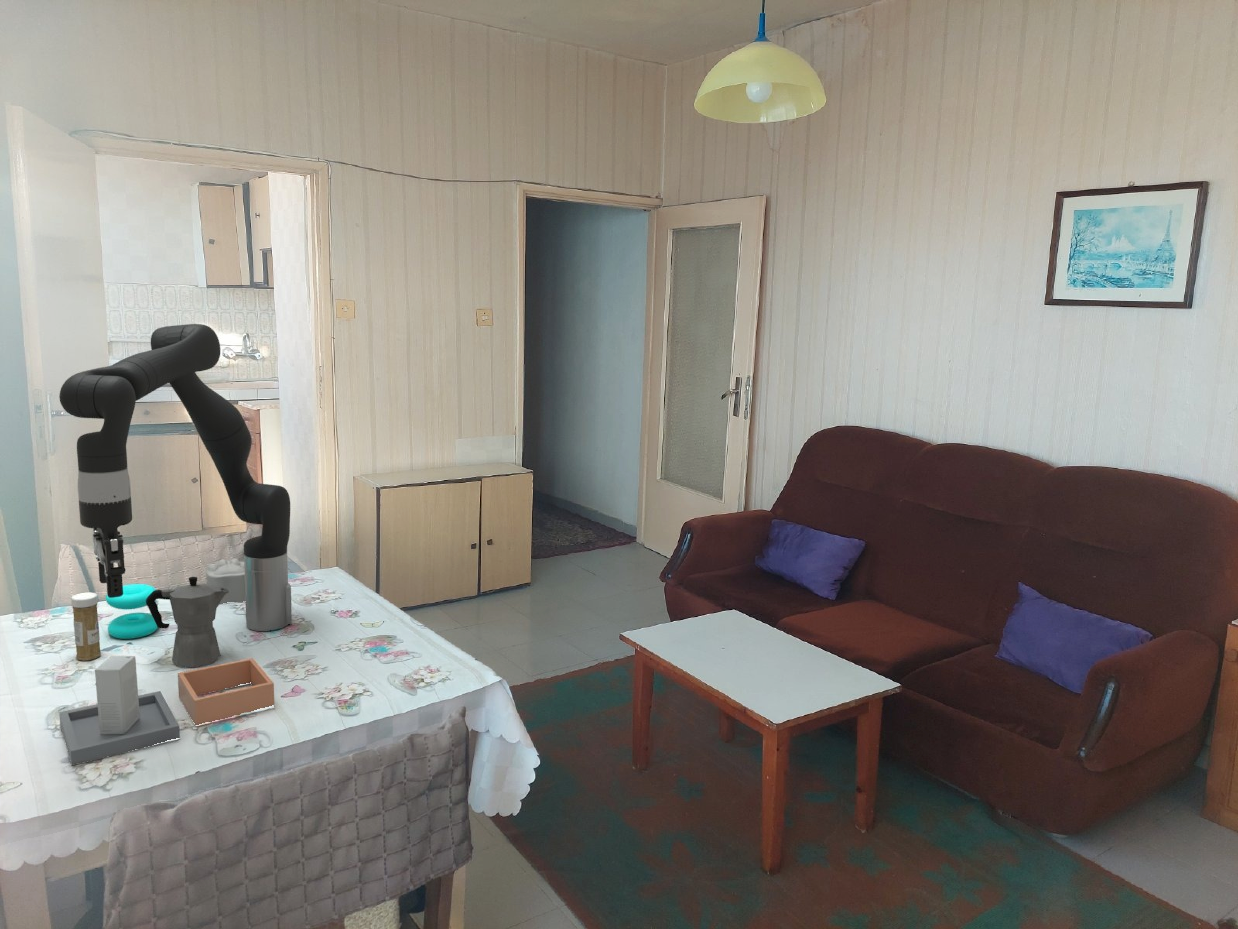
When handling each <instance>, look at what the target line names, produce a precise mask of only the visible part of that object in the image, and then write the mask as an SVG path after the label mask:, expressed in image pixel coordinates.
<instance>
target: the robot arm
mask: <svg viewBox="0 0 1238 929" xmlns="http://www.w3.org/2000/svg"><path fill="white" fill-rule="evenodd" d="M150 348H151V350H147V351H142V352H139V353H138V352H137V353H135V354H132V355H129V356H127V357H125V358H123V359H121V360H119V361H117V362H115V363H113V364H112V365H111V364H110V365H109V366H108V365H107V366H102V367H98V368H92V369H87V370H84V371H79V372H77V373H74V374H73V375H71V376H70V377H68V378H67V379H66V380H65V381H64V382H63V384H62V386H61V388H60V391H59V397H58V398H59V403H60V405H61V407H62V409H64V411H65V412H66V413H68V414H69V415H71V416H73V417H76V418H79V419H80V418H81V419H96V420H97V419H101V420H103V424H102V427H101V430H100V431H94V432H88V433H84V434H82V435H80V436H79V437H78V438H77V441H76V454H77V455H76V456H77V468H78V473H77V474H78V475H77V476H78V477H77V494H78V495H77V496H78V508H79V509H78V510H79V511H78V512H79V522H80V525H81V526H82V527H85V528H88V529H93V533H92V542H93V553H94V555H95V560H96V561H97V562H98V563H97V564H98V565H97V566H98V580H99V582H100V583H101V584H106V595H108V597H109V598H114V597H120V596H122V595H123V586H124V585H123V575H124V574H126V571H127V570H126V567H125V553H124V536H123V534H121V531H120V530H118V529H119V527H121V526H126V525H128V524H130V523H131V522H132V520H133V509H132V508H133V506H132V495H131V494H132V491H131V480H130V475H129V470H128V454H127V443H128V438H129V436H128V435H129V434H130V432H129V431H130V429H131V428H130V426H131V422H132V418H133V415H134V411H135V406H136V401H139V400H141V399H142V398H144V397H146V396H148V395H149V394H151V393H153V392H154V391H156V390H157V389H160V388H161V387H164V386H165V385H167V384H169V385H170V387H171V388H172V390H173V391H174V392H175V394H176V395H177V397H178V398H179V399H180V401H181V404H183V407H184V408H185V410H186V412H187V414H188V416H189V418H190V419H191V421H192V423H193V425H194V427H195V429H196V432H197V434H198V436H199V438H200V439H201V442H202V443H203V445H204V447H205V449H206V450H207V453H208V455H209V456H210V458H211V460H212V462H213V463H214V465H215V467H216V470H217V472H218V474H219V476H220V479H221V480H222V482H223V484H224V485H223V486H224V488H225V491H226V494H227V496H228V499H229V502H230V505H231V506H232V510H233V512H234V514H235V515H236V517H237V518H238V519H239V520H241V521H242V522H244V523H247V524H253V525H261V527H262V528H261V535H259V536H254V537H252V538H249V539H247V540H246V541H244V544H243V562H244V571H245V601H246V602H245V621H246V623H245V624H246V625H245V626H246V628H247V629H250V630H252V631H258V632H267V631H268V632H269V631H270V630H271V631H275V630H279V629H282V628H285V627H287V626H289V625H288V624H290V625H292V624H293V623H292V622H293V620H292V619H293V618H292V616H293V615H292V586H291V584H290V583H289V577H288V576H289V571H288V566H289V565H288V544H289V541H290V534H291V533H290V532H291V527H290V526H291V524H290V523H291V499H290V498H291V497H290V495H289V492H288V490H287V489H286V488H285V487H284V486H281V485H277V484H276V485H275V484H269V483H268V484H267V483H258V482H257V481H255V479H254V478H253V477H252V475H251V473H250V470H249V469H248V465H247V462H248V460H249V456H250V453H251V450H252V444H253V443H252V442H253V441H252V435H251V433H250V430H249V428H248V425H247V424H246V421H245V420H244V417H243V415H242V413H241V412H240V410H239V409H238V408H237V407H236V406H235V405H234V404H233V403H231V402H230V401H229V400H227V399H226V398H224V397H223V396H222V395H220V394H219V392H218V393H217V391H216V390H215V391H214V390H213V389H212V388H210V387H209V386H208V385H207V384H205V383H204V381H202V380H201V378H200V377H199V376H198V374H197V372H198V373H199V372H203V371H204V372H205V371H207V370H211V369H213V368H215V366H217V364H218V362H219V360H220V358H221V343H220V340H219V337H218V335H217V333H216V332H215V330H214V329H213V328H211V327H210V326H209V325H206V324H202V323H188V324H177V325H167V326H161V327H157V329H155V330H154V331H153V332H152V334H151V337H150ZM115 563H116V564H117V566H116V567H115V566H114V565H115ZM284 626H285V627H284Z"/></svg>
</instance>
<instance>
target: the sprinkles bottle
mask: <svg viewBox="0 0 1238 929" xmlns="http://www.w3.org/2000/svg"><path fill="white" fill-rule="evenodd" d="M71 606H72V612H73V631H74V643H75V649H76V650H75V651H76V652H75V653H76V655H75V658H76V660H78V661H82V662H85V661H93V660H95V659H97V658H99V657H101V656H102V651H101V645H100V644H101V643H100V638H101V637H100V626H99V616H98V594H97V593H95V592H89V591H87V592H82V593H81V592H80V593H77V594H74V595H72V596H71Z"/></svg>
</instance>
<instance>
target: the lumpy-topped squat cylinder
mask: <svg viewBox="0 0 1238 929" xmlns="http://www.w3.org/2000/svg"><path fill="white" fill-rule="evenodd" d="M205 571H206V573H205V574H206V575H205V576H206V577H205V578H206V584H208V585H214V586H215V587H220V588H223V589H227V590H228V591H229V593H226V594H225V596H224V597H223V598H222V600H221V602H220V603H219V605H224V604H223V603H226V604H228V603H227V602H238V603H244V602H243V601H245V571H244V561H240V560H239V559H238V558H235V557H234V558H232V559H230V560H227V559H223V558H222V559H220V560H219V561H218V562H216V563H209V565H207V569H206V570H205Z"/></svg>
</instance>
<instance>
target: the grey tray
mask: <svg viewBox="0 0 1238 929" xmlns="http://www.w3.org/2000/svg"><path fill="white" fill-rule="evenodd" d="M138 700H139V714H140V718H139V719H138V720H137V721H136V722H135V723H134V724H133V725H132V727H131V728H130V729H129V730H128V731H127V732H126V733H125V734H100V728H99V716H98V704H93V705H88V706H83V707H79V708H74V709H69V710H68V709H67V710H63V711H59V712H58V713H59V714H58V715H59V726H60V728H61V729H60V730H61V733H62V736H63V739H64V744H65V743H66V744H65V747H66V750H68V751H67V753H68V757H70V758H69V761H70V760H71V761H70V764H72V765H71V766H75V764H76V765H78V764H77V763H80V764H84V763H83V762H85V763H89V762H92V761H91V760H93V761H96V760H100V758H101V759H104V758H103V757H105V758H108V757H107V756H109V757H113V756H116V755H121V754H120V753H122V754H125V753H129V752H128V751H130V752H133V751H132V750H134V751H136V750H135V749H138V750H141V749H145V748H144V747H146V748H149V747H148V746H150V747H153V746H152V745H154V744H157V743H161V742H165V741H167V740H171V739H176V738H180V739H181V732H180V725H179V723H178V720H177V719H176V717H175V715H174V713H173V712H172V709H171V707H170V706H169V704H168V702H167V701H166V698H165V697H164V695H163V693H162V692H161V690H159V691H155V692H154V691H153V692H149V693H143V694H140V695H139V694H138ZM154 746H155V745H154ZM87 761H88V762H87ZM73 764H74V765H73Z"/></svg>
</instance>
